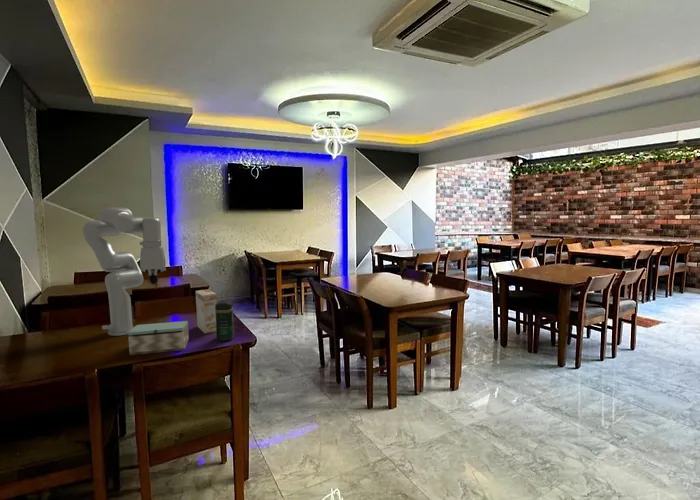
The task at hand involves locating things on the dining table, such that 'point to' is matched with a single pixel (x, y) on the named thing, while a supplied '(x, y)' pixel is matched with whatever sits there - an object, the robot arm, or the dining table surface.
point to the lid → (158, 328)
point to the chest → (158, 342)
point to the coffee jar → (224, 320)
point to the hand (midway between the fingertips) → (154, 283)
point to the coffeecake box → (206, 310)
